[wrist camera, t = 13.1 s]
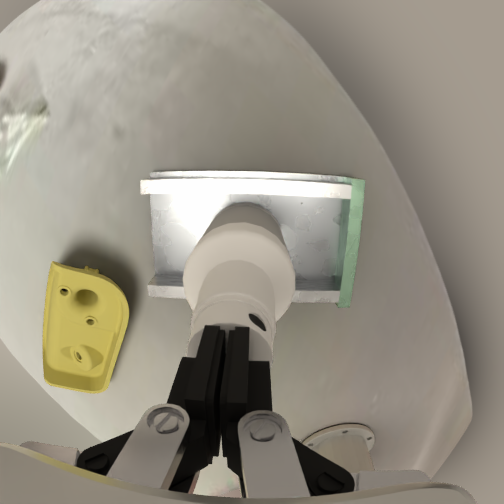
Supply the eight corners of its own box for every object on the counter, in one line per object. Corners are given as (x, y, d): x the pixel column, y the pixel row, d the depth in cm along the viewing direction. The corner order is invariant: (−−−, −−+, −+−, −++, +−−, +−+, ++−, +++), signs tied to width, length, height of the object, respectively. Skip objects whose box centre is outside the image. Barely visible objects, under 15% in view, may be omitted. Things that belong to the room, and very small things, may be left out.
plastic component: (105, 395, 34) (36, 382, 29) (103, 355, 40) (42, 341, 34) (141, 287, 27) (42, 261, 22) (138, 247, 33) (57, 223, 28)
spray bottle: (296, 235, 28) (351, 350, 11) (247, 285, 30) (238, 433, 13) (241, 186, 27) (216, 237, 10) (194, 240, 28) (116, 355, 11)
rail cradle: (340, 292, 31) (349, 307, 28) (159, 286, 31) (149, 301, 28) (352, 177, 27) (365, 179, 24) (153, 171, 27) (140, 174, 24)
